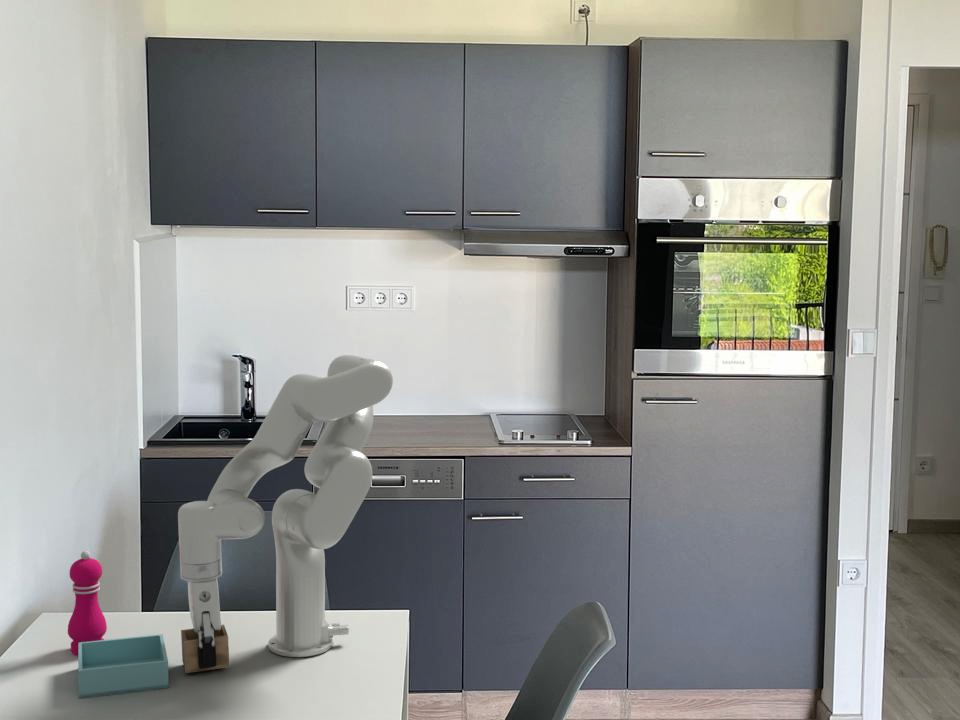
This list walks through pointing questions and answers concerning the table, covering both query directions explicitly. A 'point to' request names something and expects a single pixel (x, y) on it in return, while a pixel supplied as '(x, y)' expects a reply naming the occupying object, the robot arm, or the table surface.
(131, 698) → the table surface
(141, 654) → the big crate
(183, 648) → the small crate
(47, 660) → the table surface
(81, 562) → the pepper mill
